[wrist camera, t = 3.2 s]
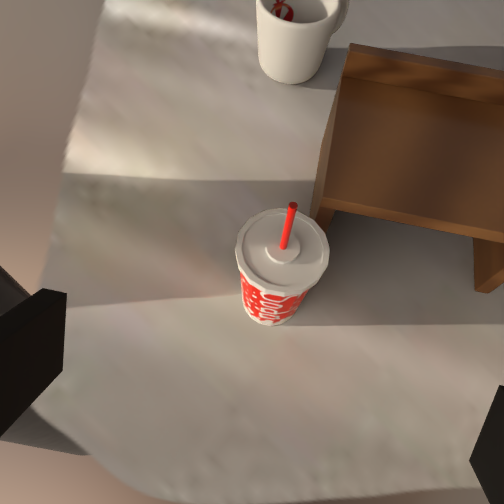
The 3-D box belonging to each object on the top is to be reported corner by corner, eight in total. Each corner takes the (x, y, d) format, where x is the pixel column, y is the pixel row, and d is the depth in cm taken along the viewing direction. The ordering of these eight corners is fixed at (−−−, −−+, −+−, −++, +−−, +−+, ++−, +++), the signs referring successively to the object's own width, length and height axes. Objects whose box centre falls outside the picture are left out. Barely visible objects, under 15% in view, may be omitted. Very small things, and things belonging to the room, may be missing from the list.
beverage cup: (221, 317, 36) (219, 230, 24) (249, 255, 39) (261, 146, 26) (293, 347, 35) (330, 272, 23) (317, 280, 38) (362, 181, 26)
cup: (313, 25, 53) (327, -46, 46) (358, 65, 50) (380, -4, 43) (237, 59, 50) (239, -12, 42) (281, 104, 47) (291, 37, 40)
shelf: (302, 255, 39) (329, 175, 29) (321, 141, 45) (350, 42, 35) (488, 293, 38) (583, 225, 28) (483, 172, 44) (560, 80, 34)
